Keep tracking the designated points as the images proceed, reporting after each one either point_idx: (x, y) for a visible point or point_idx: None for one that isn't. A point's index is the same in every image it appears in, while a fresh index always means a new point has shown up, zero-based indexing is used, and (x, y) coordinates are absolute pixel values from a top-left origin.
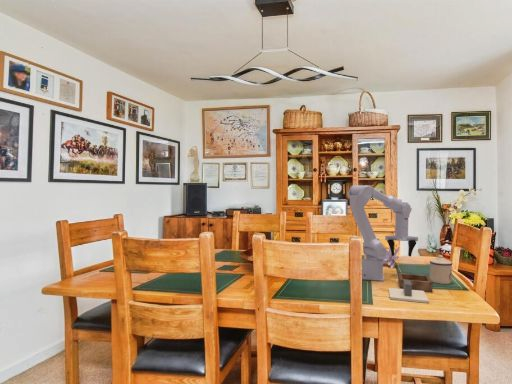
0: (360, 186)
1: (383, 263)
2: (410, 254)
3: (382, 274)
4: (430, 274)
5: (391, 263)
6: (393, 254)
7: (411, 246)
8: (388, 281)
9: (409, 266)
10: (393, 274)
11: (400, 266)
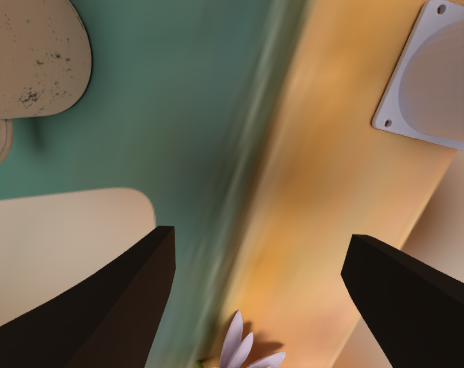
0: None
1: (269, 355)
2: (157, 234)
3: (439, 45)
4: (61, 37)
5: (230, 356)
6: (371, 241)
7: (70, 336)
8: (390, 4)
9: None
10: (278, 196)
11: (186, 345)
